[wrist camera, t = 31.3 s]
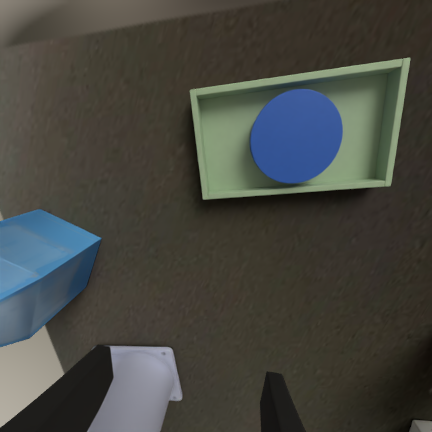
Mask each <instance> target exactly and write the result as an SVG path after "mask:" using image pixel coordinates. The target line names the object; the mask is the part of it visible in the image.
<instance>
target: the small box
mask: <svg viewBox="0 0 432 432" xmlns="http://www.w3.org/2000/svg"><path fill="white" fill-rule="evenodd" d="M409 432H432V421H424V420H413V421H412V425H411V428H410V431H409Z"/></svg>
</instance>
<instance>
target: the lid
mask: <svg viewBox="0 0 432 432" xmlns="http://www.w3.org/2000/svg"><path fill="white" fill-rule="evenodd" d="M342 136H343V125H342V119H341V116H340V113H339V111H338V109H337V108H336V106H335V105H334V103H333V102H332V101H331V100H330V99H329V98H327V97H326V96H325V95H323V94H321V93H319V92H317V91H314V90H309V89H295V90H290V91H287V92H284V93H282V94H280V95H278V96H276V97H275V98H273V99H272V100H271V101H269V102H268V103H267V104H266V105H265V106H264V108H263V109H262V110H261V111H260V113H259V115H258V116H257V118H256V120H255V122H254V124H253V126H252V129H251V133H250V141H249V142H250V152H251V155H252V158H253V160H254V162H255V163H256V165H257V166H258V167H259V169H260V170H261V171H262V172H263V173H264V174H265V175H266V176H268V177H269V178H271V179H273V180H275V181H278V182H282V183H290V184H293V183H301V182H305V181H308V180H310V179H312V178H314V177H316V176H318V175H319V174H320V173H322V172H323V171H324V170H325V169H326V168H327V167H328V166H329V165H330V164H331V163H332V161H333V160H334V158H335V157H336V155H337V153H338V151H339V148H340V145H341V142H342Z"/></svg>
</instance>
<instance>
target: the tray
mask: <svg viewBox="0 0 432 432" xmlns="http://www.w3.org/2000/svg"><path fill="white" fill-rule="evenodd" d="M409 64H410V58H405V59H398V60H391V61H384V62H377V63H370V64H364V65H357V66H350V67H343V68H336V69H329V70H323V71H316V72H309V73H302V74H295V75H289V76H282V77H275V78H268V79H261V80H254V81H248V82H241V83H234V84H227V85H220V86H213V87H207V88H200V89H196V90H195V89H193V90H190V98H191V106H192V114H193V122H194V131H195V139H196V147H197V155H198V163H199V171H200V180H201V188H202V196H203V200H207V199H220V198H234V197H248V196H261V195H275V194H289V193H302V192H316V191H330V190H343V189H357V188H371V187H383V186H391V181H392V174H393V168H394V161H395V155H396V148H397V142H398V135H399V129H400V122H401V116H402V109H403V103H404V96H405V90H406V83H407V77H408V70H409ZM295 89H309V90H314V91H317V92H319V93H321V94H323V95H325V96H326V97H327V98H329V99H330V100H331V101H332V102H333V103H334V105H335V106H336V108H337V109H338V111H339V113H340V116H341V119H342V125H343V136H342V142H341V145H340V148H339V151H338V153H337V155H336V157H335V158H334V160H333V161H332V163H331V164H330V165H329V166H328V167H327V168H326V169H325V170H324V171H323V172H322V173H320V174H319V175H318V176H316V177H314V178H312V179H310V180H308V181H305V182H301V183H293V184H290V183H282V182H278V181H275V180H273V179H271V178H269V177H268V176H266V175H265V174H264V173H263V172H262V171H261V170H260V169H259V167H258V166H257V165H256V163H255V162H254V160H253V158H252V155H251V152H250V142H249V141H250V133H251V129H252V126H253V124H254V122H255V120H256V118H257V116H258V115H259V113H260V111H261V110H262V109H263V108H264V106H265V105H266V104H267V103H268V102H269V101H271V100H272V99H273V98H275V97H276V96H278V95H280V94H282V93H284V92H287V91H290V90H295Z"/></svg>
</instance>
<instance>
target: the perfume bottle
mask: <svg viewBox="0 0 432 432" xmlns="http://www.w3.org/2000/svg"><path fill="white" fill-rule="evenodd" d="M100 242H101V238H100V237H98V236H96V235H94V234H92V233H89V232H87V231H85V230H83V229H81V228H79V227H77V226H75V225H73V224H71V223H68V222H66V221H64V220H62V219H60V218H58V217H56V216H54V215H52V214H50V213H47V212H45V211H43V210H41V209H38V210H35V211H31V212H28V213H25V214H22V215H19V216H15V217H12V218H9V219H6V220H2V221H0V347H3V346H6V345H9V344H13V343H16V342H19V341H23V340H26V339H29V338H30V337H32V336H33V335H34V334H35V333H36V332H37V331H38V330H39V329H40V328H42V326H44V325H45V324H46V323H47V322H48V321H49V320H50V319H51V318H53V317H54V316H55V315H56V314H57V313H58V312H59V311H60V310H61V309H62V308H64V307H65V306H66V305H67V304H68V303H69V302H70V301H71V300H72V299H73V298H75V297H76V296H77V295H78V294H79V293H80V292H81V291H82V290H83V289H84V288H85V287H86V286H87V283H88V280H89V277H90V274H91V270H92V267H93V264H94V261H95V258H96V254H97V251H98V248H99V245H100Z"/></svg>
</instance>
